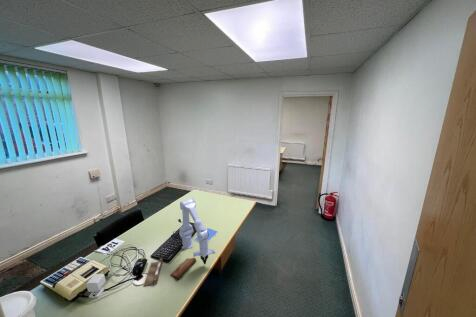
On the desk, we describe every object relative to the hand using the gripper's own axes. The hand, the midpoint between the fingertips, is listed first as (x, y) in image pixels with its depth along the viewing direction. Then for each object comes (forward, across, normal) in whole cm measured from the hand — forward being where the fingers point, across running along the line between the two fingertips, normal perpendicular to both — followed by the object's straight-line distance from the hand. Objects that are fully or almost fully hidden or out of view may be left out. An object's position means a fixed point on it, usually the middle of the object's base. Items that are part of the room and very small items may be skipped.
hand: (204, 263), depth 129 cm
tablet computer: (+3, +1, +33) cm, 33 cm away
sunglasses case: (+3, -15, 0) cm, 15 cm away
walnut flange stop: (+2, -34, 0) cm, 34 cm away
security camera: (+2, -64, -8) cm, 65 cm away
